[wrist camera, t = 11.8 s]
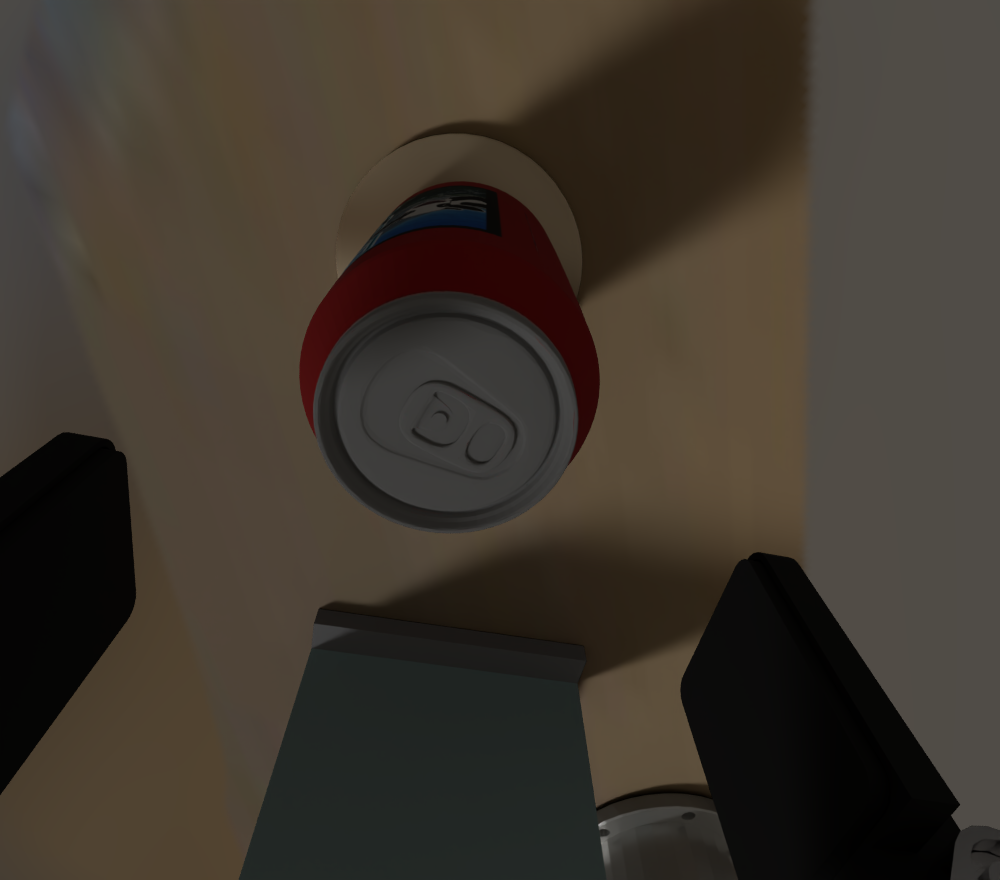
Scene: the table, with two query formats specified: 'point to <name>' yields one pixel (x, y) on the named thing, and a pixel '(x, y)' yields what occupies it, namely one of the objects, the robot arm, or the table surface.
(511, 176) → the coaster
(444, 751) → the screen
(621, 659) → the table surface
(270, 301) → the table surface
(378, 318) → the beverage can
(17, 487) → the robot arm
